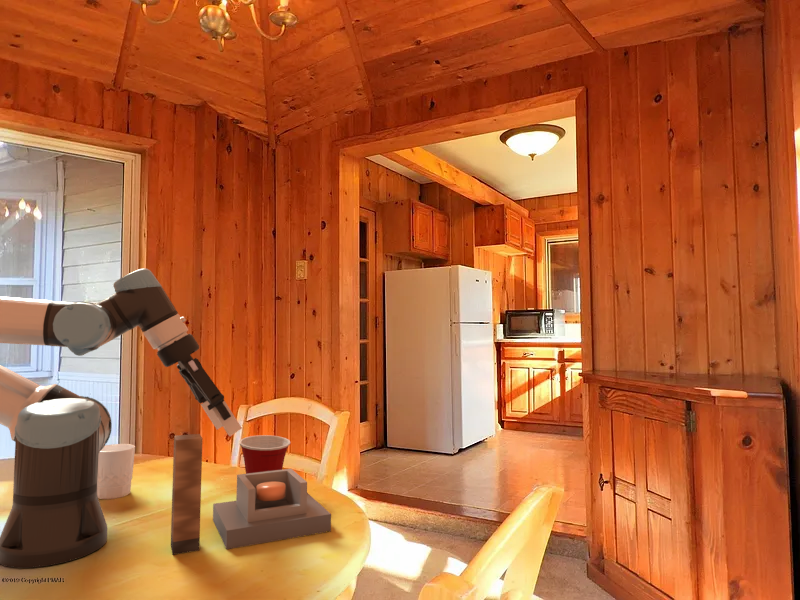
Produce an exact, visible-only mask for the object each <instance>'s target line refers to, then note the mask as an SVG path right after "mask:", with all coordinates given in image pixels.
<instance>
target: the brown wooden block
mask: <svg viewBox="0 0 800 600" xmlns="http://www.w3.org/2000/svg"><path fill="white" fill-rule="evenodd" d="M202 463H203V437H202V435H201V434H200V433H193V434H177V435H173V463H172V466H173V467H172V469H173V470H172V491H171V492H172V493H171V498H172V499H171V521H170V523H171V524H170V525H171V526H170V549H171V553H172V556H174V555H179V554H188V553H191V552H198V551H200V544H201V542H200V540H201V539H200V538H201V536H200V535H201V508H202V507H201V505H202V503H201V502H202V501H201V500H202V470H203V468H202V467H203V466H202V465H203V464H202Z"/></svg>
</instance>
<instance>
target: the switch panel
mask: <svg viewBox="0 0 800 600" xmlns="http://www.w3.org/2000/svg"><path fill="white" fill-rule="evenodd" d="M264 482H283V483H285V484H286V490H285V497H284V498H283V499H280V500H275V501H261V500H258V499H257V498H256V490H257V485H258V484H260V483H264ZM235 498H236V500H231V501H224V502H216V503H213V505H212V521H213V523H214V525H215V528H216V530H217V533H218V534H219V537H220V539H221V540H222V543H223V545H224V548H225V549H226V550H229V549H231V550H232V549H235V548H236V549H237V548H241V547H248V546H253V545H259V544H264V543H270V542H271V543H272V542H277V541H281V540H282V539H283V540H288V539H287V538H289V539H293V537H294V538H299V537H298V536H300V537H305V536H304V535H306V536H312V535H316V534H315V533H318V534H323V533H327V532H326V531H329V532H331V531H332V514H331V512H330V511H328V510H327V509H326V508H325V507H324V506H323V505H322V504H320V503H319V502H318V501H317V500H316V499H315V498H314V497H313V496H311V494H309V492H308V482H307V480H305V479H304V478H303V477H302V476H301V475H300V474H298V473H297V472H296V471H295V470H294V469H292V468H285V469H283V468H282V470H275V471H266V472H257V473H248V474H246V473H238V474H236V497H235ZM322 532H323V533H322ZM311 534H312V535H311Z"/></svg>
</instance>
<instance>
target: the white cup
mask: <svg viewBox="0 0 800 600" xmlns="http://www.w3.org/2000/svg"><path fill="white" fill-rule="evenodd" d="M135 451H136V446H135V445H134V444H131V443H114V444H113V443H112V444H105V446H104V448H103V449H102V450H101V451H100V452H99V456H98V480H97V497H98V500H100V499H101V500H110V499H111V500H112V499H118V498H123V497H126V496H128V495H129V494H131V491H132V490H131V489H132V479H133V472H134V462H135Z"/></svg>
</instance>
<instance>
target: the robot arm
mask: <svg viewBox="0 0 800 600" xmlns="http://www.w3.org/2000/svg"><path fill="white" fill-rule="evenodd" d="M113 288H114V292H115V293H113V294H111V295H110V296H109V297H106V298H105V299H103V300H100V301H98V302H96V303H92V302H84V301H77V302H71V301H59V300H58V301H55V300H48V299H35V298H25V297H24V298H23V297H10V296H0V344H11V345H28V346H29V345H33V346H47V347H48V346H50V347H58V348H59V347H62V348H63V347H65V348H68V350H69V351H70V352H71V353H73V354H74V355H76V356H78V357H79V356H80V357H83V356H85V355H87V354H89V353H90V352H93V351H97V350H98V349H99V348H100V347H102V346H105V344H108V343H110V342H111V341H113V340H115V339H117V338H118V337H120V336H121V335H123V334H125V333H127V332H129V331H131V330H133V329H134V328H137V327H138V328H139V329H140V330H141V332H142V334H143V336H144V337H145V339H146V340H147V342H148V343H149V345H150V346H151V348H152V349H153V350H157V352H156V355H157V357H158V358H159V360H160V361H161V363H162V364H163V366H164V367H166V368H168V367H172V366H173V365H175V364H176V363H177V364H176V368H177V369H178V370H179V371H178V373H179V374H180V376H181V377H182V378H183V379H184V380H183V381H185V383H186V384H187V385H188V387H189V389H190V390H191V392H192V394H193V396H194V399H195V400H196V401H197V402H198V403H199V404H200V406H201V407H202V409H203V411H204V412H205V413H206V416H207V417H208V418H209V420H210V421H211V423H212V425H213V426H214V427H215V430H219V429H221V428H223V429H224V431H225V432H226V434H227V435H228V436H229V437H231V436H233V435H235V434H236V433H237V432H240V430H242V428H243V427H242V426H241V424H240V422H239V421H238V420H237V418H236V417H235V415H234V413H233V412H232V410H231V408H230V407H229V406H228V403H227V402H226V401H225V395H224V394H222V393H221V391H220V390H219V388H218V387H217V385H216V384H215V382H213V381H214V380H212V378H211V377H210V376H209V374H208V373H207V371H206V370H205V369H204V368H203V365H202V363H201V361H200V360H199V359H198V358H197V357H195V358H193V356H192V355H193V354H194V353H196V352H197V351H198V350H200V345H199V343H198V342H197V340H196V338H195V337H194V335H193V334H191V333H189V334H188V333H187V332H188V331H189V328H188V327H187V325H186V323H185V322H186V321H187V320H186V317H185V316H181V315H180V314H179V312H178V311H177V309H176V307H175V306H174V303H173V302H172V301H171V299H170V297H169V296H168V294H167V292H166V291H165V289H164V287H163V286H162V284H161V283H160V282H159V281H158V279H157V278H156V276H155V275H154V273H153V271H151V270H150V269H148V268H139V269H137V270H134V271H132V272H130V273H127V274H126V275H124V276H123V277H120V278H119V279H117V280H116V281H115V282H114V283H113ZM0 425H2V426H4V427H6V428H8V430H9V433H10V439H11V441H14V442H15V445H14V446H15V447H14V463H13V464H14V465H13V466H14V469H13V471H14V472H13V489H12V491H13V492H12V493H13V495H12V506H11V509H10V512H9V514H8V517H7V519H6V521H5V524H4V526H3V529H2V530H1V531H2V532H1V534H0V565H2V566H4V567H7V568H8V567H9V568H13V569H14V568H18V569H27V568H28V569H29V568H31V569H32V568H41V567H48V566H53V565H58V564H62V563H67V562H70V561H73V560H76V559H81V558H83V557H85V556H88V555H90V554H93V553H94V552H96V551H98V550H99V549H101V548H102V547H103V546H104V545H105V544H106V543H107V541H108V524H107V521H106V518H105V515H104V511H103V509H102V505H101V503H100V499H99V498H98V497H97V480H98V456H99V452H100V451H101V450H102V449H103V448H104V446H105V445H107V443H109V439H110V437H111V434H112V429H113V428H112V417H111V414H110V412H109V410H108V409H107V407H106V406H105V405H104V404H103V403H101V401H99V400H97V399H95V398H93V397H90V396H83V395H79V394H77V393H74V392H73V391H71V390H69V389H67V388H65V387H63V386H61V385H59V384H57V383H53V384H50V385H41V384H38V383H36V382H34V381H32V380H31V379H29V378H26V377H24V376H22V375H20V374H19V373H17V372H15V371H13V370H11V369H9V368H8V367H5V366H4V365H2V364H0Z"/></svg>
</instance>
